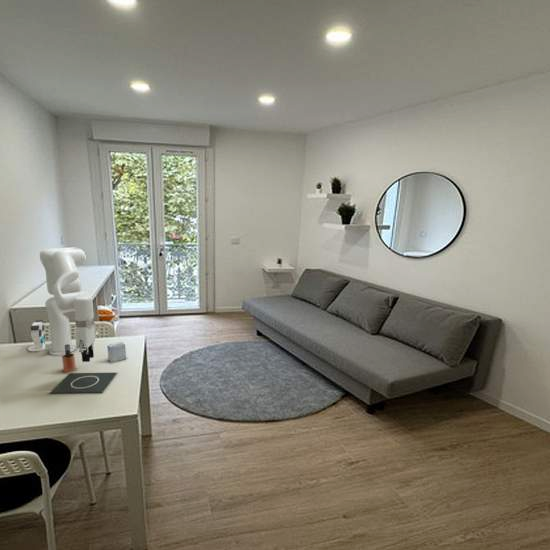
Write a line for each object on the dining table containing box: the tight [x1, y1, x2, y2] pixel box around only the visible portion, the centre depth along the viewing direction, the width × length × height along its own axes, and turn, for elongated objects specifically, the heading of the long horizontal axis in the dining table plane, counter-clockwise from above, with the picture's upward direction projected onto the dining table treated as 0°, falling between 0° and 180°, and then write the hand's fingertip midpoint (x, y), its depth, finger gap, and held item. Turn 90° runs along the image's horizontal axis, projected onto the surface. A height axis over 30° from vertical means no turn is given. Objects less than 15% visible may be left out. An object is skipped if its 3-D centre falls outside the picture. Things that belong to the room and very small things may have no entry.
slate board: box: [49, 372, 117, 395], centre depth 165 cm, size 22×18×1 cm
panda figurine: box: [27, 319, 51, 352], centre depth 201 cm, size 12×11×15 cm
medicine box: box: [106, 341, 127, 363], centre depth 189 cm, size 8×4×9 cm, turn 134°
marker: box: [64, 344, 72, 358], centre depth 175 cm, size 2×2×13 cm
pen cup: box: [61, 353, 76, 373], centre depth 176 cm, size 5×5×8 cm
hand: (88, 359), depth 165 cm, fingers open, 3 cm apart
